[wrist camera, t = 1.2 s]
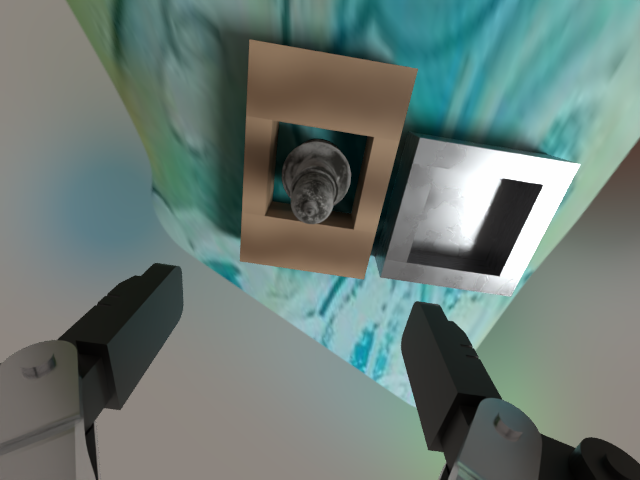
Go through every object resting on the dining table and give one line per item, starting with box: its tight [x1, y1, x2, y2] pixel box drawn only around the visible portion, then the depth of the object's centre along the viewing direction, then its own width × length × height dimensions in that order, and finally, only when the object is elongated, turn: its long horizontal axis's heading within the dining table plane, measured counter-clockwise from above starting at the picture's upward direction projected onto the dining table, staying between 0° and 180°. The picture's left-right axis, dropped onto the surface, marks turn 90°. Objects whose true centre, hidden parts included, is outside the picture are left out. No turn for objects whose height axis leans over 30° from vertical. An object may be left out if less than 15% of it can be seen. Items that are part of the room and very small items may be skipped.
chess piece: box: [282, 139, 351, 224], centre depth 24 cm, size 6×6×12 cm
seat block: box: [375, 131, 580, 297], centre depth 29 cm, size 13×13×4 cm
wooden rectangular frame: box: [240, 39, 418, 279], centre depth 27 cm, size 18×12×4 cm, turn 171°
